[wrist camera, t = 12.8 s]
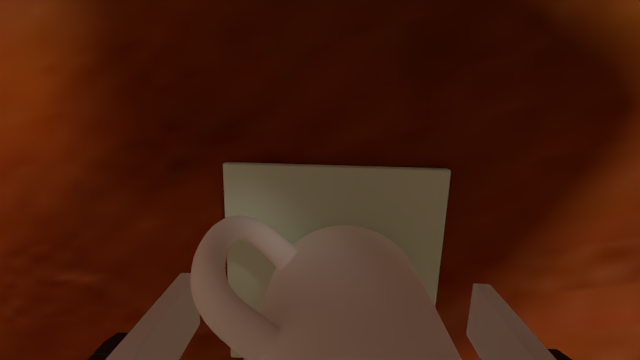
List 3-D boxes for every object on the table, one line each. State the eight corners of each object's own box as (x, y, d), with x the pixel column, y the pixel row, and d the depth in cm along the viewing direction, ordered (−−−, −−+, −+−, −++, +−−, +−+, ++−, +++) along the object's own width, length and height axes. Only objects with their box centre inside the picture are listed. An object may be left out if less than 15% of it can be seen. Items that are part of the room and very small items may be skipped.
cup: (340, 375, 20) (350, 629, 11) (194, 242, 19) (41, 398, 9) (447, 292, 19) (573, 498, 9) (297, 140, 17) (254, 189, 7)
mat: (226, 161, 18) (222, 164, 18) (447, 168, 18) (451, 170, 17) (233, 350, 21) (231, 357, 20) (425, 358, 21) (428, 365, 20)
